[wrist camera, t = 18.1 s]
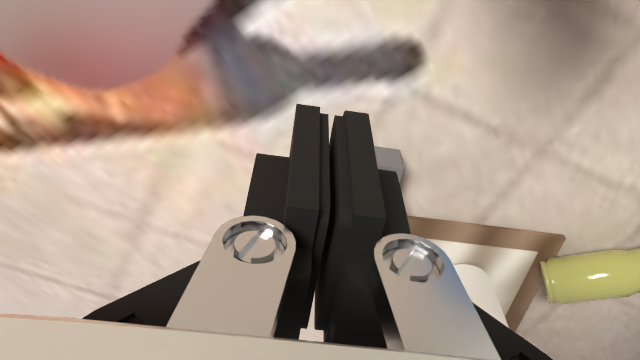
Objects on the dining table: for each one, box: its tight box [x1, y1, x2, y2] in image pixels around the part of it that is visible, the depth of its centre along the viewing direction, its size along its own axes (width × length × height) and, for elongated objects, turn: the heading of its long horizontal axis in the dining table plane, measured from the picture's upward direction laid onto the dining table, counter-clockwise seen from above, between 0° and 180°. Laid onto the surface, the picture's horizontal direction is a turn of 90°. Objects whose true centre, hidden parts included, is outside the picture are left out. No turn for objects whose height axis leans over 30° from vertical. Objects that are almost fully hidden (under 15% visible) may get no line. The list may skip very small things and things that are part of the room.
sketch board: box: [407, 216, 566, 332], centre depth 51 cm, size 17×15×1 cm
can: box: [453, 264, 509, 328], centre depth 46 cm, size 6×6×12 cm
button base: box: [374, 147, 404, 184], centre depth 43 cm, size 6×6×3 cm
